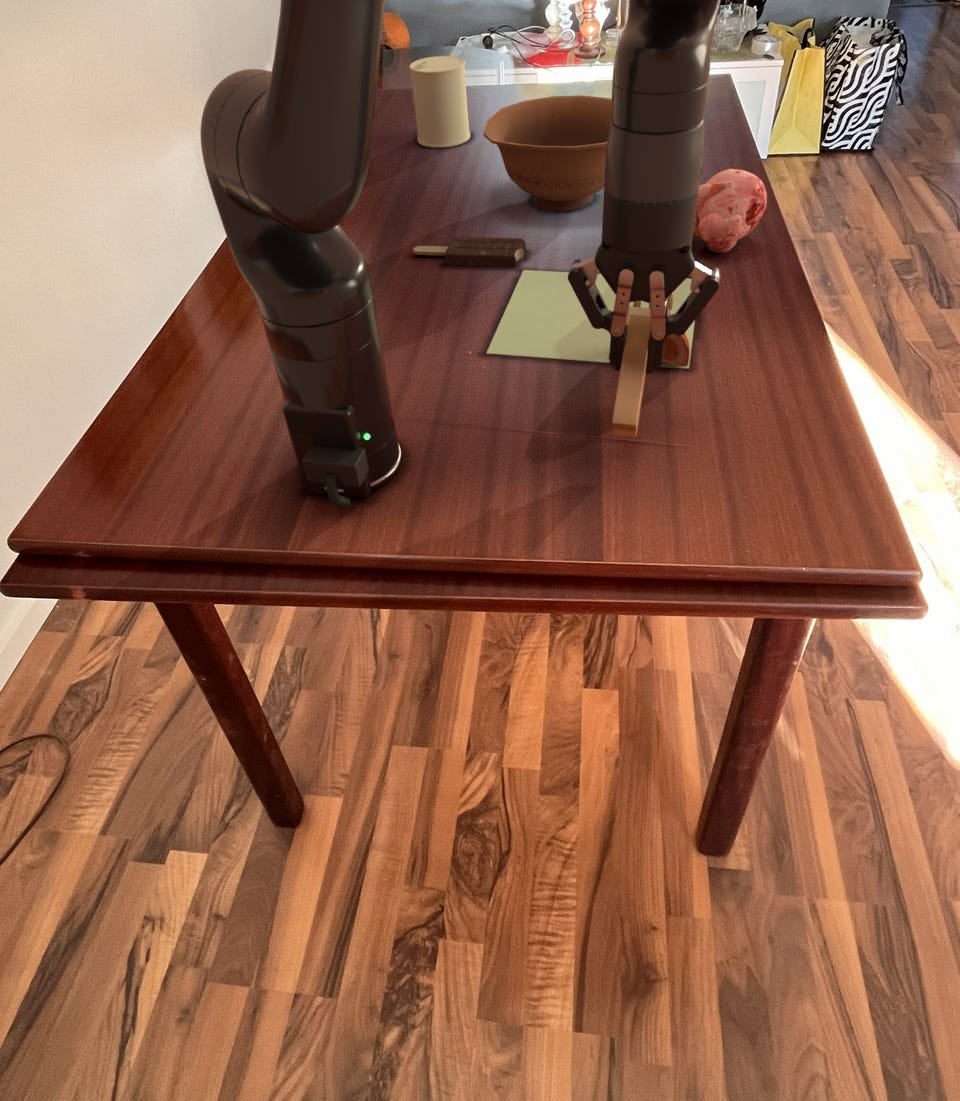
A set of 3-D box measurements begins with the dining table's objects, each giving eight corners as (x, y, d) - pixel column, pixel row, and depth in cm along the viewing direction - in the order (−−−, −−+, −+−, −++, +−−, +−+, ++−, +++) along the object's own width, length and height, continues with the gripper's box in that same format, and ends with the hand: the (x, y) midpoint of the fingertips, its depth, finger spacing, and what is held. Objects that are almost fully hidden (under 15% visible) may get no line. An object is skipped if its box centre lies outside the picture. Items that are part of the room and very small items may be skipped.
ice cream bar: (409, 264, 107) (521, 268, 104) (407, 252, 106) (521, 256, 103) (419, 247, 111) (528, 250, 108) (418, 235, 109) (527, 238, 107)
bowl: (467, 224, 115) (460, 142, 107) (512, 166, 129) (510, 90, 121) (621, 237, 109) (626, 151, 101) (651, 174, 123) (657, 95, 115)
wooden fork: (652, 439, 75) (653, 427, 72) (596, 433, 76) (595, 421, 73) (677, 272, 78) (679, 255, 76) (623, 269, 80) (623, 252, 77)
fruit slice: (614, 325, 90) (608, 369, 89) (613, 302, 83) (606, 349, 83) (692, 331, 88) (686, 376, 88) (696, 307, 81) (690, 355, 81)
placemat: (688, 370, 85) (688, 368, 85) (486, 354, 90) (486, 353, 90) (699, 280, 99) (700, 279, 99) (523, 271, 104) (523, 269, 103)
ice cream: (631, 247, 103) (747, 212, 93) (638, 180, 105) (751, 138, 95) (670, 288, 111) (780, 259, 101) (675, 225, 113) (784, 190, 103)
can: (409, 136, 142) (400, 59, 134) (457, 125, 145) (451, 49, 136) (429, 152, 136) (421, 72, 128) (479, 140, 139) (474, 61, 130)
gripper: (557, 195, 64) (556, 382, 76) (739, 202, 61) (707, 397, 73) (574, 160, 69) (570, 341, 81) (742, 165, 66) (712, 353, 78)
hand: (635, 367), depth 77 cm, fingers closed on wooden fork, 2 cm apart
